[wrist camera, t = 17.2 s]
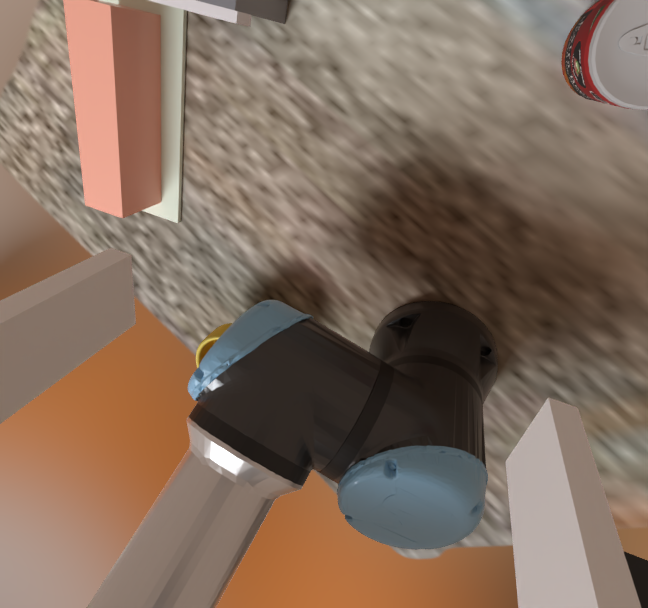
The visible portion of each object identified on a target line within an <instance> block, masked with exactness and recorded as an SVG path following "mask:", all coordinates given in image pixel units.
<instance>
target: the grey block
mask: <svg viewBox="0 0 648 608" xmlns="http://www.w3.org/2000/svg"><path fill="white" fill-rule="evenodd" d="M148 1H152V2H156V3H160V4H164V5H167V6H171V7H175V8H179V9H183V10H186V11H190V12H194V13H198V14H202V15H206V16H209V17H213V18H217V19H221V20H225V21H228V22H232V23H236V24H241V25H245V26H250V25H251V15H253V16H257V17H260V18H264V19H268V20H271V21H275V22H279V23H283V24H285V20H286V12H287V5H288V0H148Z"/></svg>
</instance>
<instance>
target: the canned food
mask: <svg viewBox="0 0 648 608" xmlns="http://www.w3.org/2000/svg"><path fill="white" fill-rule="evenodd" d="M562 70H563V75H564V77H565V80H566V82H567V83H568V85H569V86H570V88H571V89H572V90H573V91H575V92H576V93H577V94H578V95H580V96H582V97H584V98H586V99H590V100H594V101H598V102H602V103H606V104H610V105H615V106H619V107H623V108H627V109H635V110H648V0H600V1H599V2H597V3H596V4H594V5H593V6H592V7H591V8H589V9H588V10H587V11H586V12H585V13H584V14H583V15H582V16H581V17H580V18H579V20H578V21H577V22H576V23H575V25H574V26H573V28H572V29H571V31H570V33H569V35H568V37H567V39H566V41H565V45H564V48H563V52H562Z"/></svg>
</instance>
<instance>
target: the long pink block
mask: <svg viewBox="0 0 648 608" xmlns="http://www.w3.org/2000/svg"><path fill="white" fill-rule="evenodd" d="M63 1H64V10H65V19H66V29H67V38H68V47H69V57H70V66H71V75H72V85H73V94H74V103H75V113H76V122H77V131H78V141H79V150H80V159H81V169H82V178H83V187H84V197H85V205H86V206H89V207H92V208H95V209H97V210H100V211H103V212H106V213H109V214H112V215H115V216H118V217H120V218H125V217H127V216H129V215H132V214H134V213H137V212H139V211H142V210H144V209H146V208H149V207H151V206H154V205H156V204H159V203H161V15H158V14H154V13H150V12H146V11H142V10H138V9H135V8H131V7H127V6H123V5H119V4H114V3H109V2H104V1H99V0H63Z"/></svg>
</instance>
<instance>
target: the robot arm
mask: <svg viewBox="0 0 648 608" xmlns="http://www.w3.org/2000/svg"><path fill="white" fill-rule="evenodd" d="M134 324H136V321H135V305H134V290H133V274H132V259H131V255H130V254H128V253H125V252H122V251H119V250H116V249H113V248H109V249H107V250H105V251H103V252H101V253H99V254H97V255H95V256H93V257H91V258H89V259H87V260H84V261H82V262H80V263H78V264H76V265H74V266H72V267H70V268H68V269H66V270H64V271H61V272H60V273H57V274H55V275H53V276H51V277H49V278H47V279H45V280H43V281H41V282H39V283H36V284H34V285H32V286H30V287H28V288H26V289H24V290H22V291H20V292H18V293H16V294H13V295H11V296H9V297H7V298H5V299H3V300H1V301H0V424H1V423H2V422H3V421H5V420H6V419H7V418H9V417H10V416H12V415H13V414H14V413H16V412H17V411H18V410H19V409H21V408H22V407H24V406H25V405H26V404H28V403H29V402H30V401H32V400H33V399H34V398H36V397H37V396H39V395H40V394H41V393H43V392H44V391H45V390H46V389H48V388H49V387H51V386H52V385H53V384H55V383H56V382H57V381H59V380H60V379H62V378H63V377H64V376H66V375H67V374H68V373H70V372H71V371H72V370H74V369H75V368H76V367H78V366H79V365H80V364H82V363H83V362H84V361H86V360H87V359H88V358H90V357H91V356H93V355H94V354H95V353H97V352H98V351H99V350H101V349H102V348H103V347H105V346H106V345H108V344H109V343H110V342H111V341H113V340H114V339H115V338H117V337H118V336H119V335H121V334H122V333H124V332H125V331H126V330H128V329H129V328H130V327H132V326H133V325H134ZM497 370H498V360H497V350H496V345H495V342H494V339H493V337H492V335H491V333H490V332H489V330H488V329H487V328H486V326H485V325H484V324H483V323H482V322H481V321H480V320H479V319H478V318H477V317H475V316H474V315H472V314H471V313H469V312H468V311H466V310H464V309H462V308H460V307H457V306H454V305H451V304H447V303H443V302H435V301H424V302H416V303H411V304H408V305H405V306H402V307H400V308H398V309H396V310H394V311H393V312H391V313H390V314H389V315H387V316H386V317H385V318H384V319H383V320H382V322H381V323H380V324H379V326H378V327H377V329H376V331H375V334H374V336H373V339H372V342H371V345H370V351H369V352H368V351H366V350H364V349H363V348H361V347H359V346H358V345H356V344H354V343H353V342H351V341H349V340H348V339H346V338H344V337H342V336H341V335H339V334H337V333H336V332H334V331H332V330H331V329H329V328H327V327H326V326H324V325H322V324H321V323H319V322H317V321H316V320H314V319H313V316H311V315H310V314H304V313H302V312H300V311H298V310H296V309H294V308H292V307H290V306H289V305H287V304H285V303H283V302H281V301H278V300H265V301H262V302H259V303H257V304H256V305H254V306H253V307H251V308H250V309H248V310H247V311H246V312H245V313H243V314H242V315H241V316H240V317H239V318H238V319H237V320H236V321H235V322H233V323H232V324H231V326H230V327H229V328H228V329H227V330H226V331H225V332H224V333H223V334H222V335H221V336H220V337H219V339H218V340H217V341H216V342H215V343H214V345H213V346H212V347H211V348H210V350H209V351H208V352H207V353H206V355H205V356H204V358H203V359H202V360H201V362H200V364H199V367H198V368H197V370H196V371H195V372H194V374H193V375H192V377H191V379H190V381H189V384H188V392H189V393H190V394H191V396H192V399H194V400H196V401H198V403H197V405H196V406H195V408H194V409H193V411H192V412H191V414H190V415H189V417H188V418H187V425H188V430H189V436H190V448H189V449H188V451H187V452H186V454H185V456H184V457H183V459H182V460H181V462H180V463H179V465H178V467H177V468H176V470H175V471H174V473H173V474H172V476H171V477H170V479H169V481H168V482H167V484H166V485H165V487H164V489H163V490H162V491H161V493H160V495H159V496H158V498H157V499H156V501H155V502H154V504H153V505H152V507H151V509H150V510H149V512H148V513H147V515H146V516H145V518H144V519H143V521H142V523H141V524H140V526H139V527H138V529H137V530H136V532H135V533H134V535H133V537H132V538H131V540H130V541H129V543H128V544H127V546H126V548H125V549H124V551H123V552H122V554H121V555H120V557H119V558H118V560H117V561H116V563H115V565H114V566H113V568H112V569H111V571H110V573H109V574H108V576H107V577H106V579H105V580H104V582H103V583H102V585H101V586H100V588H99V590H98V591H97V593H96V594H95V596H94V597H93V599H92V600H91V602H90V604H89V605H88V607H87V608H216V606H217V604H218V603H219V601H220V599H221V597H222V595H223V593H224V592H225V590H226V588H227V586H228V584H229V582H230V580H231V579H232V577H233V575H234V573H235V572H236V570H237V568H238V566H239V564H240V563H241V561H242V559H243V557H244V555H245V553H246V551H247V550H248V548H249V546H250V544H251V543H252V541H253V539H254V537H255V535H256V533H257V532H258V530H259V528H260V526H261V524H262V522H263V521H264V519H265V517H266V515H267V513H268V512H269V510H270V508H271V506H272V504H273V502H274V501H275V499H276V498H278V497H280V496H281V495H284V494H287V493H290V492H293V491H297V490H300V489H301V488H302V486H303V484H304V483H305V481H306V479H307V477H308V475H309V473H310V471H311V470H312V469H314V470H316V471H317V472H319V473H321V474H322V475H324V476H326V477H327V478H329V479H331V480H332V481H334V482H335V483H337V484H338V488H337V495H338V505H339V508H340V510H341V512H342V513H343V514H345V519H346V520H347V522H348V523H349V524H350V525H351V526H352V527H353V528H355V529H356V530H357V531H359V532H360V533H361V534H363V535H365V536H367V537H369V538H371V539H373V540H375V541H377V542H380V543H383V544H386V545H390V546H394V547H399V548H405V549H416V550H417V549H435V548H441V547H445V546H448V545H451V544H454V543H456V542H459V541H460V540H462V539H464V538H465V537H467V536H468V535H470V534H471V533H472V532H473V531H474V530H475V528H476V527H477V526H478V524H479V523H480V521H481V519H482V516H483V513H484V506H485V491H486V485H487V481H488V474H487V470H486V460H485V441H484V421H483V403H484V401H485V399H486V398H487V396H488V394H489V392H490V390H491V388H492V386H493V384H494V382H495V379H496V375H497ZM506 470H507V482H508V493H509V504H510V516H511V527H512V538H513V550H514V561H515V572H516V583H517V594H518V606H519V608H648V561H647V560H644V559H642V558H639V557H637V556H634V555H632V554H629V553H626V552H624V551H623V548H622V545H621V542H620V539H619V536H618V533H617V529H616V526H615V523H614V520H613V517H612V514H611V511H610V507H609V504H608V501H607V498H606V495H605V492H604V489H603V486H602V482H601V479H600V476H599V473H598V470H597V467H596V464H595V460H594V457H593V454H592V451H591V448H590V445H589V442H588V438H587V435H586V432H585V429H584V426H583V423H582V420H581V417H580V413H579V410H578V407H575V406H572V405H569V404H566V403H563V402H560V401H557V400H554V399H551V398H548V399H547V400H546V402H545V403H544V405H543V406H542V408H541V409H540V411H539V412H538V414H537V415H536V417H535V418H534V420H533V421H532V423H531V424H530V426H529V427H528V429H527V430H526V432H525V433H524V435H523V436H522V438H521V439H520V441H519V442H518V444H517V445H516V447H515V448H514V450H513V451H512V453H511V454H510V456H509V457H508V459H507V460H506Z"/></svg>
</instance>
